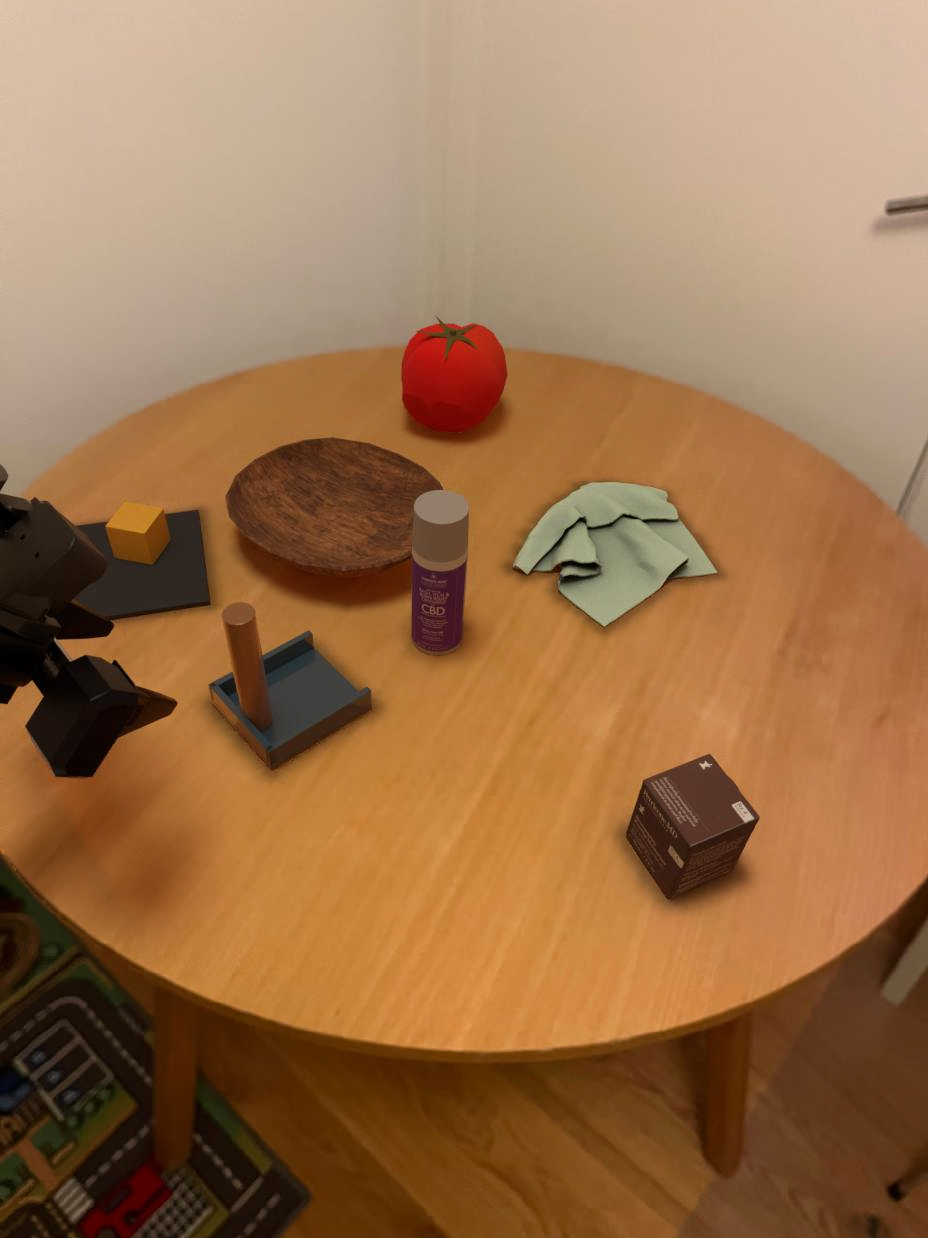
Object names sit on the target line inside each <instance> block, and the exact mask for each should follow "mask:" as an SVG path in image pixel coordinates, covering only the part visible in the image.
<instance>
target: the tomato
mask: <svg viewBox="0 0 928 1238" xmlns="http://www.w3.org/2000/svg"><path fill="white" fill-rule="evenodd" d="M434 316H435V318H436V319H437V321H438V323H434V324H431V325H428V326H426V327H423V328H420V329H418V330H416V331H415V332H416V333H415V334H414V335H413V336H412V337H411V338H410V339H409V340H408V342H407V345H406V347H405V350H404V353H403V356H402V359H401V369H400V370H401V371H400V375H401V377H400V378H401V387H402V390H401V401H402V403H403V406H404V409H405V410H406V411H407V413H408V414H409V415H410V417H411V418H412V419H413V420H414V421H415V422H416V423H417V424H418V425H420V426H422V427H424V428H426V429H428V430H430V431H434V432H441V433H442V432H443V433H449V434H460V433H462V432H465V431H467V430H470V429H472V428H475V427H477V426H479V425H481V424H482V423H484V421H485V420H486V419H487V418H488V417H489V415H490V414H491V413H492V412H493V411H494V409H495V408H496V407H497V405H498V403H499V401H500V399H501V397H502V395H503V392H504V390H505V387H506V384H507V383H506V382H507V378H508V368H507V360H506V354H505V351H504V348H503V346H502V344H501V342H500V341H499V339H498V338H497V337H496V334H495V333H494V332H493V331H492V330H491V329H489V328H488V327H486V326H484V325H482V324H479V323H475V322H472V323H469V324H466V325H463V326H460V325H458V324H456V323H444V322H443V321H442V320H441V318H439V317H438V316H437V315H434Z"/></svg>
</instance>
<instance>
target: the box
mask: <svg viewBox="0 0 928 1238" xmlns="http://www.w3.org/2000/svg"><path fill="white" fill-rule="evenodd" d="M760 819H761V816H760V815H759V813H758V812H757V811H756V810H755V808H754V807H753V805H751V803H750V801H748V800H747V798H746V797H745V795H744V794H743V793H742V792H741V790H740V788H739V786H738V785H737V783H735V781H734V780H733V779H732V778H731V777H730V776H729V775H727V773H726V772H725V770H724V769H723V768H722V767H721V766H720V764H719V763H718V761H717V760H716V759H715V758H714V757H713V755H712V753H707V754H704V755H702V756H699V757H697V758H694V759H692V760H690V761H687V762H684V763H682V764H679V765H677V766H674V767H672V768H669V769H667V770H665V771H662V772H659V773H657V774H654V775H651V776H649V777H647V778H646V777H645V778H644V779H643V780H642V783H641V787H640V789H639V791H638V795H637V799H636V802H635V805H634V807H633V811H632V814H631V817H630V819H629V823H628V825H627V829H626V831H625V836H626V838H627V839H628V841H629V842H630V844H631V846H632V847H633V849H634V850H635V852H636V853H637V855H638V856H639V858H640V860H641V861H642V863H643V864H644V866H645V867H646V868H647V870H648V872H649V873H650V874H651V877H652V878H653V879H654V880H655V883H657V884H658V886H659V887H660V889H661V890H662V892H663V894H664V895H665V896H666V897H667V898H670V899H671V898H674V897H676V896H678V895H680V894H683V893H685V892H686V891H689V890H690V889H693V888H695V887H697V886H699V885H702V884H703V883H706V882H708V881H710V880H713V879H715V878H717V877H719V876H723V875H724V874H726V873H729V872H730V871H732V870H733V869H734V868H735V866H736V865H737V863H738V862H739V859H740V857H741V855H742V853H743V851H744V849H745V847H746V845H747V844H748V841H749V840H750V838H751V836H752V834H753V832H754V830H755V829H756V826H757V825H758V822H759V821H760Z"/></svg>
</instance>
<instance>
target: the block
mask: <svg viewBox="0 0 928 1238" xmlns="http://www.w3.org/2000/svg"><path fill="white" fill-rule="evenodd" d="M165 514H166V513H165V509H164V508H163V507H159V506H153V505H149V504H142V503H137V502H131V501H127V500H125V501H124V502H123V503H122V504H121V506H120V507H119V508H118V510H117V511H116V512H115V513H114V514H113V516H112V517H111V518H110V519H109V522H108V521H107V522H108V523H107V524H106V526H105V527H106V531H107V534H108V537H109V541H110V544H111V548H112V551H113V554H114V558H117V559H123V560H128V561H133V562H138V563H144V564H149V565H153V564H154V563H155V561H156V560H157V558H158V557H159V556H160V554H161V553H162V551H163V550H164V549H165V547H166V546H167V544H168V543H169V542H170V540H171V538H170V534H169V530H168V526H167V521H166V517H165Z"/></svg>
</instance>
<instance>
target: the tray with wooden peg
mask: <svg viewBox="0 0 928 1238" xmlns="http://www.w3.org/2000/svg"><path fill="white" fill-rule="evenodd" d="M221 621H222V626H223V630H224V636H225V640H226V641H225V642H226V646H227V651H228V655H229V661H230V665H231V670H232V671H230V672H228V673H227V674H225V675H223V676H221V677H220V678H218V679H216V680H214V681H212V682H210V683H209V684H207V686H208V690H209V694H210V699H211V702H212V704H213V705H214V706H215V708H216V709H217V710H218V711H219V712H220V713H221V715H222V716H223V717H224V718H225V719H226V720H227V722H228V723H229V724H230V725H231V726H232V727H233V728H234V729H235V731H236V732H237V733H238V734H239V735H240V736H241V737H242V739H243V740H244V741H245V742H246V743H247V744H248V746H250V748H251V749H252V750H253V751H254V752H255V753H256V754H257V755H258V757H259V758H260V759H261V760H262V761H263V762H264V764H265V765H266V766H267V767H268V768H269V770H271V771H273V770H275V769H276V768H278V767H280V766H281V765H283V764H284V763H286V762H287V761H289V760H292V758H294V757H296V756H297V755H299V754H300V753H302V752H304V751H306V750H307V749H309V748H310V747H312V746H313V745H315V744H317V743H318V742H320V741H321V740H323V739H324V738H325V739H326V737H328V736H330V735H331V734H333V733H334V732H336V731H338V730H339V729H341V728H343V727H345V726H346V725H347V724H349V723H351V722H352V721H354V720H356V719H357V718H359V717H361V716H363V714H366V713H367V712H369V711H370V710H372V709H373V702H372V700H373V699H372V689H370V688H369V686H365V687H363V688H361V689H360V690H358V689H357V688H356V687H355V686H354V685H353V684H352V683H351V682H350V680H349V681H348V679H347V678H346V677H344V675H343V674H341V672H339V671H338V670H337V668H336V667H334V666H333V665H332V664H331V662H329V661H328V660H327V659H326V658H325V657H324V656H323V655H322V654H321V653H320V652H319V651H318V649H316V648H315V644H314V643H315V642H314V635H313V632H312V631H311V630H309V629H308V630H306V631H304V632H302V633H301V634H299V635H297V636H294V638H292V639H290V640H287V641H286V642H284V643H282V644H280V645H278V646H277V647H275V648H272V649H271V650H269V651H267V652H265V653H264V654H263V651H262V645H261V638H260V632H259V626H258V620H257V614H256V609H255V608H254V606H253V605H251V604H250V603H248V602H243V601H237V602H232V603H231V604H229V605H226V606H225V607H224V609H223V610H222V612H221Z"/></svg>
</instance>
